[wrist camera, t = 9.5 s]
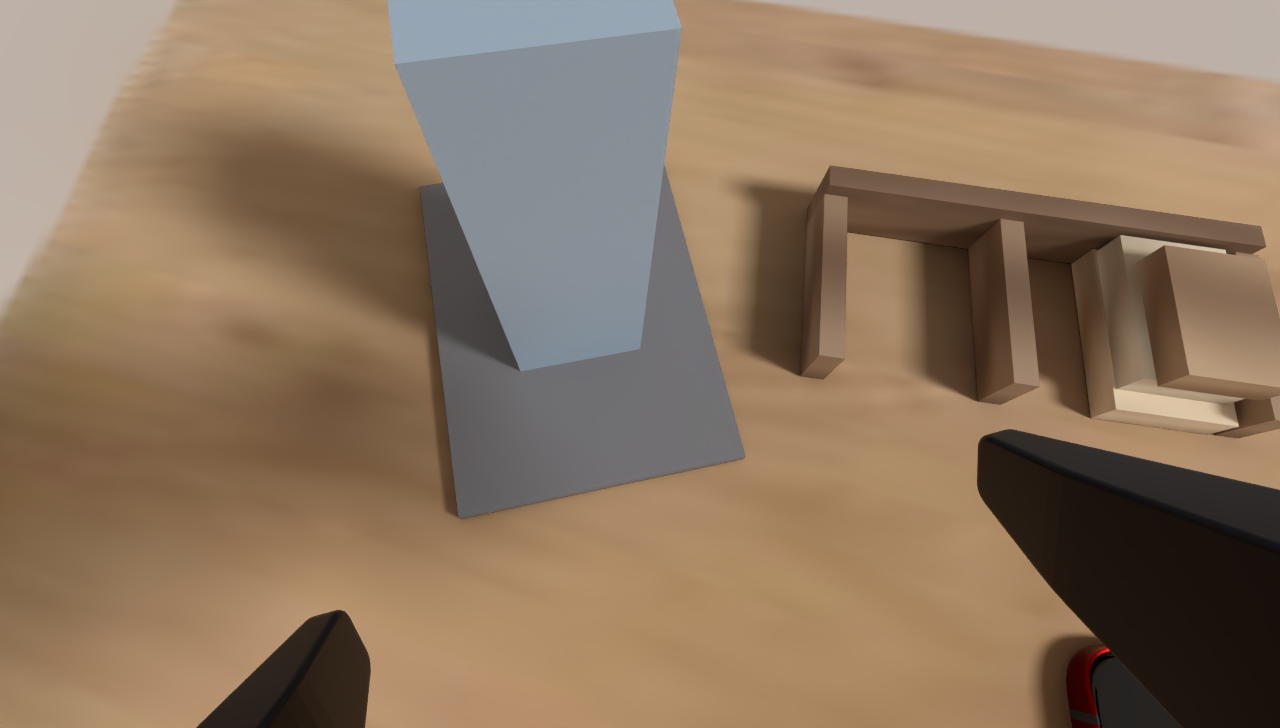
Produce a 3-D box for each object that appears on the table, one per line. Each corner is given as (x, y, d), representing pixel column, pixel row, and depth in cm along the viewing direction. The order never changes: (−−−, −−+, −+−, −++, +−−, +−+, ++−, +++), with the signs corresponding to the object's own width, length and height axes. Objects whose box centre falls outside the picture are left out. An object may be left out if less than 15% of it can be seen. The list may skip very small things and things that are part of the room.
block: (640, 349, 20) (682, 28, 9) (520, 371, 20) (395, 64, 8) (618, 258, 22) (630, -133, 10) (505, 277, 21) (375, -110, 9)
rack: (1238, 438, 21) (1318, 419, 18) (800, 376, 21) (824, 349, 18) (1201, 263, 23) (1267, 227, 21) (807, 208, 23) (830, 165, 21)
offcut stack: (1207, 434, 21) (1312, 407, 18) (1090, 418, 21) (1175, 388, 18) (1177, 279, 23) (1265, 230, 20) (1071, 264, 23) (1143, 213, 20)
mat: (742, 459, 20) (745, 456, 19) (461, 519, 19) (458, 517, 18) (659, 157, 24) (660, 150, 23) (422, 193, 23) (419, 186, 22)
